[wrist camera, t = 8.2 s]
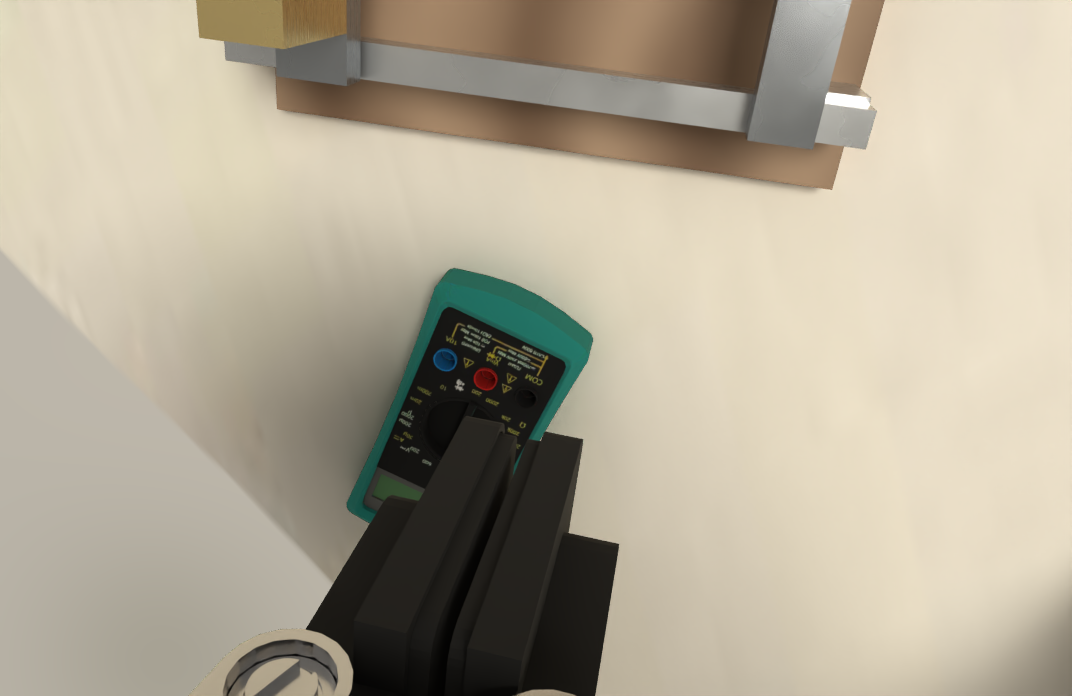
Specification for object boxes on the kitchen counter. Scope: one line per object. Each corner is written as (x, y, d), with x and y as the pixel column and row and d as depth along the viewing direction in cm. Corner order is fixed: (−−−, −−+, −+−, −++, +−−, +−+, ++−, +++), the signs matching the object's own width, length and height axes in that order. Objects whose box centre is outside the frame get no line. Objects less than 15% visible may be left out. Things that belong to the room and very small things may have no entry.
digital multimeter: (603, 321, 36) (596, 349, 34) (482, 544, 43) (469, 581, 41) (456, 250, 36) (438, 273, 34) (359, 485, 43) (337, 519, 41)
